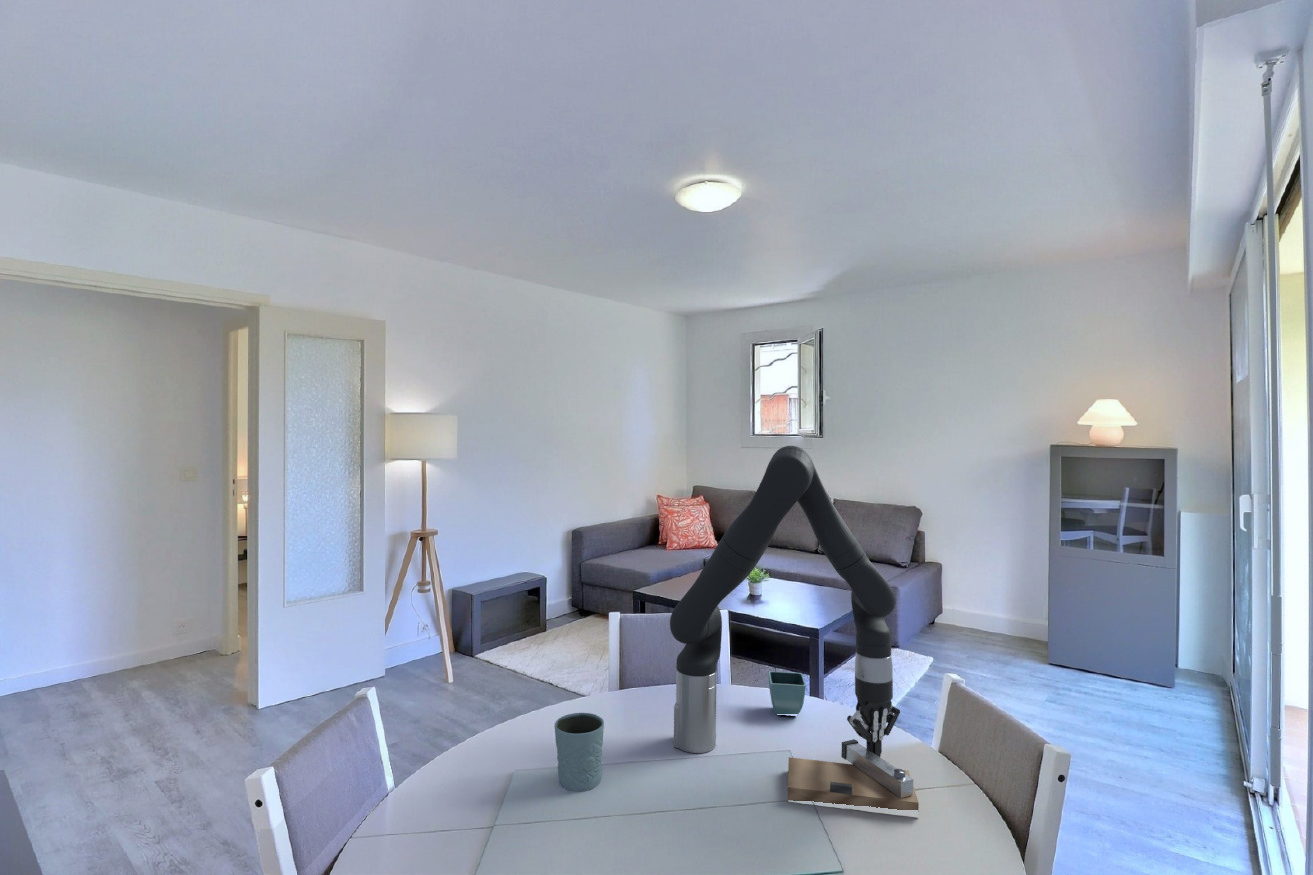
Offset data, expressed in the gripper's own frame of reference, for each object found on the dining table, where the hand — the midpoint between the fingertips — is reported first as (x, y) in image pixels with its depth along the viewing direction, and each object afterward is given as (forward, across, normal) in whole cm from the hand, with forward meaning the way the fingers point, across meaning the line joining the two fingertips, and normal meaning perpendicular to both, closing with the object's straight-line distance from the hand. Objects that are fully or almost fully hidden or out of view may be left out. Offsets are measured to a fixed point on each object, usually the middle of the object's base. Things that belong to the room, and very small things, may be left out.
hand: (874, 756), depth 141 cm
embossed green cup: (+3, -57, +24) cm, 62 cm away
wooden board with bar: (+4, -9, -3) cm, 11 cm away
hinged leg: (+1, -4, -4) cm, 6 cm away
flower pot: (+4, +2, +33) cm, 34 cm away
